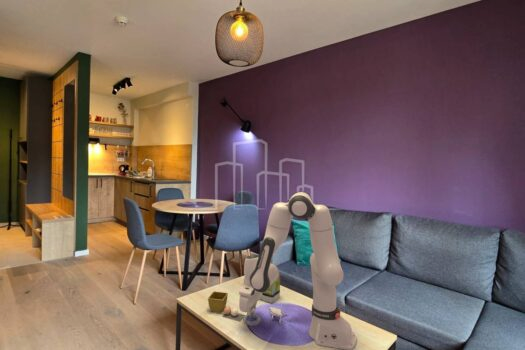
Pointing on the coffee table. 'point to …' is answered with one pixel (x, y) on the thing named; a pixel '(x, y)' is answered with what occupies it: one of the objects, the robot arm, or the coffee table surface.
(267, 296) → the tea box
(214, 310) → the flower pot
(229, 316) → the parts mat
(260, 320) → the race ring
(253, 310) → the steel ball
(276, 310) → the origami figure
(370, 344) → the coffee table surface
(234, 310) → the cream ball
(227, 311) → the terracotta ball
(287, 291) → the coffee table surface
